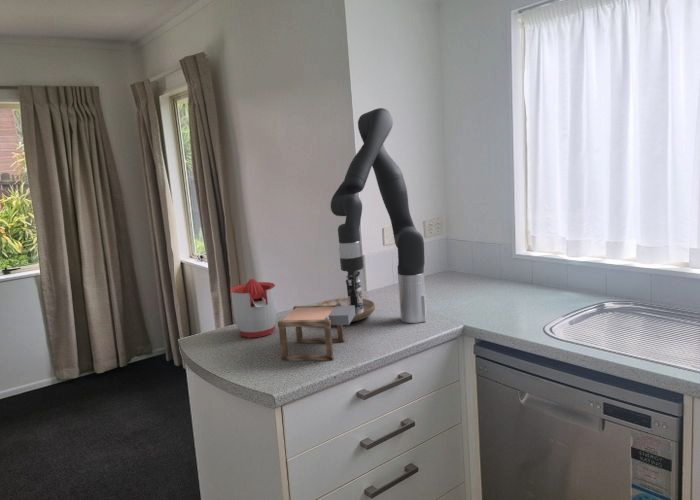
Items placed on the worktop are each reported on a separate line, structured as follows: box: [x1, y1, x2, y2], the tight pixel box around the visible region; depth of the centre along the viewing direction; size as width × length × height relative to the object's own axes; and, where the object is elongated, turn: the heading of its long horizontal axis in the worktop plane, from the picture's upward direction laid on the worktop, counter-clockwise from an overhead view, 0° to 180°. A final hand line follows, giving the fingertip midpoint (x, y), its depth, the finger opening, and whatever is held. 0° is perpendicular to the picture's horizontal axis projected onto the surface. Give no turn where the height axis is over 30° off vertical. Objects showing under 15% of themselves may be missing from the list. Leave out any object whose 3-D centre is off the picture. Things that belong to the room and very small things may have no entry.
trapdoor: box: [282, 305, 355, 326], centre depth 172 cm, size 20×14×3 cm
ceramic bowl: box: [315, 297, 376, 323], centre depth 208 cm, size 23×24×5 cm
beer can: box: [346, 278, 364, 315], centre depth 183 cm, size 5×5×12 cm
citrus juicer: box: [230, 278, 278, 339], centre depth 195 cm, size 16×17×20 cm
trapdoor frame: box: [277, 302, 345, 361], centre depth 174 cm, size 16×18×13 cm
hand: (355, 305), depth 184 cm, fingers closed on beer can, 4 cm apart
